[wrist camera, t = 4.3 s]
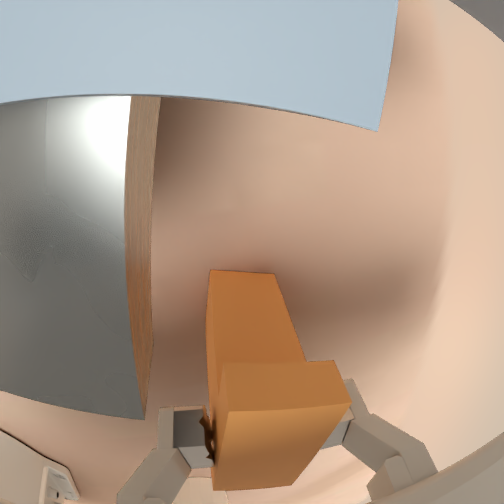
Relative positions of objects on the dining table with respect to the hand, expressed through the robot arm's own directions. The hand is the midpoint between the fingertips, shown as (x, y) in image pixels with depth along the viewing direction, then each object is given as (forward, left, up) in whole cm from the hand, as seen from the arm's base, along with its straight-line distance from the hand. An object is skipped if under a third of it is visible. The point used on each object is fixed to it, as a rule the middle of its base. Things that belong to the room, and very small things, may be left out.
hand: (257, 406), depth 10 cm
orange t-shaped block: (0, 0, -6) cm, 6 cm away
